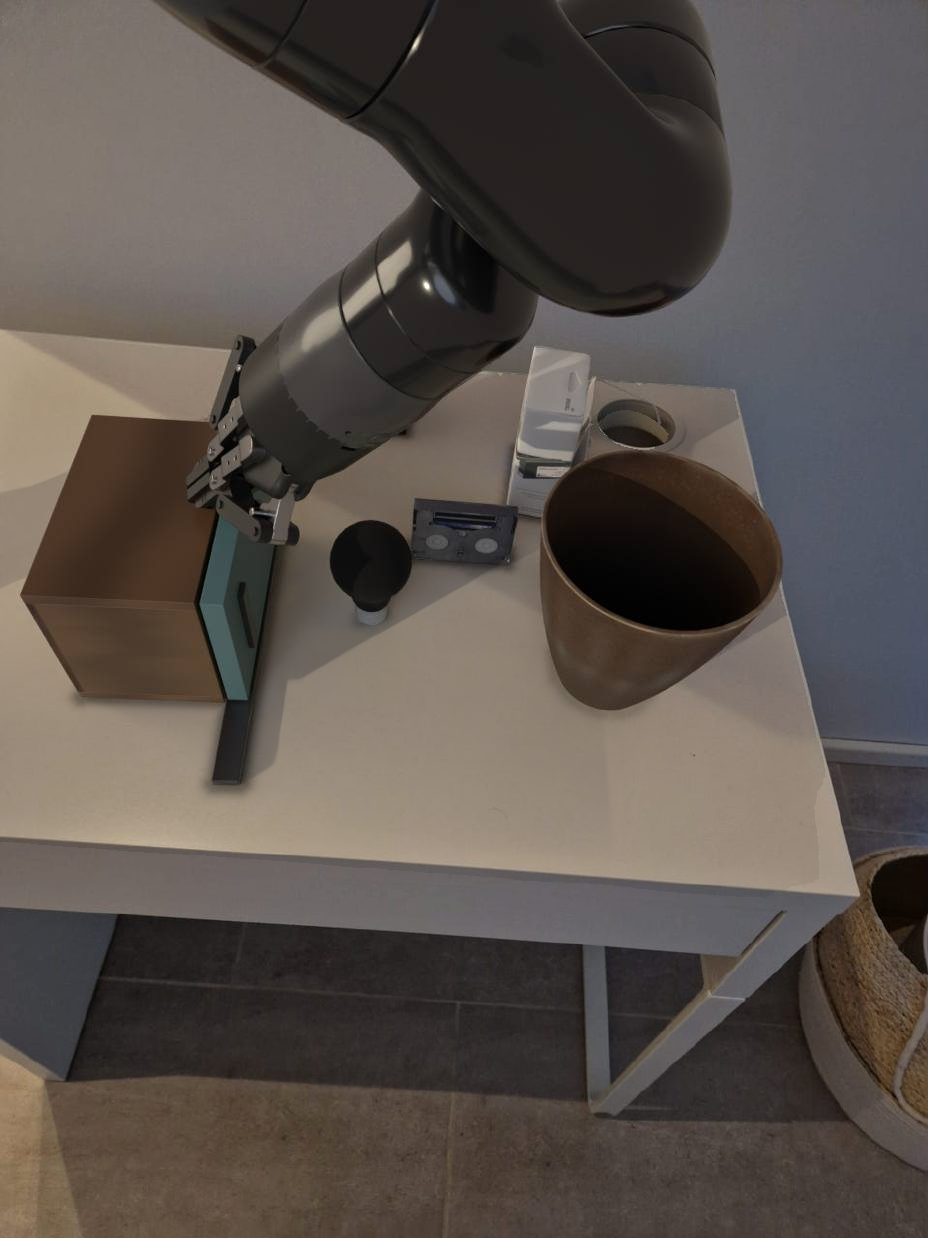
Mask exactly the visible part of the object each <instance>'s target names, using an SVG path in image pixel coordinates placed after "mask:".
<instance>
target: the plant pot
mask: <svg viewBox="0 0 928 1238" xmlns="http://www.w3.org/2000/svg"><path fill="white" fill-rule="evenodd" d="M540 522H541V523H540V540H539V542H540V544H539V585H540V601H541V610H542V611H541V612H542V618H543V624H544V625H543V626H544V630H545V635H546V641H547V645H548V648H549V652H550V655H551V658H552V661H553V665H554V668H555V671H556V673H557V676H558V678H559V680H560V682H561V684H562V686H563V688H564V689H565V691H567V692H568V694H570V696H572V697H573V699H576V701H578V702H579V703H582V704H584V705H586V706H588V707H590V708H593V709H595V710H596V709H597V710H601V711H620V710H624V709H627V708H630V707H632V706H636V705H638V704H640V703H642V702H643V703H644V702H646V701H647V700H649V699H651V698H654V697H655V696H657V695H659V694H661V693H663V692H665V691H666V690H668V689H670V688H672V687H673V686H675V685H676V684H679V683H680V682H681V681H683V680H684V679H686V678H687V677H689V676H691V675H692V674H693V673H695V672H696V671H698V670H699V669H700V668H702V667H703V666H704V665H705V664H707V663H708V662H709V661H710V660H712V659H713V658H714V657H716V656H717V655H718V654H719V653H720V652H721V651H722V650H724V649H725V648H726V647H727V646H729V644H731V642H732V641H734V640H735V639H736V638H737V637H738V636H739V635H740V634H741V633H742V632H743V631H744V630H745V629H747V627H748V626H749V625H750V624H751V623H752V622H753V621H754V620H755V619H756V618H757V617H758V616H759V615H760V614H761V613H762V612H763V611H764V610H765V609H766V608H767V607H768V605H769V604H770V603H771V602H772V600H773V598H774V597H775V595H776V594H777V592H778V589H779V587H780V585H781V581H782V577H783V572H784V571H783V569H784V557H783V549H782V545H781V544H782V543H781V541H780V538H779V535H778V533H777V530H776V528H775V526H774V524H773V522H772V521H771V518H770V517H769V515H768V514H767V513H766V512H765V510H764V509H763V507H762V506H761V505H760V504H759V502H758V501H757V500H756V499H755V498H754V497H752V495H750V493H748V491H746V490H745V489H744V488H743V487H742V486H740V485H739V484H738V483H736V482H735V481H734V480H732V479H731V478H730V477H728V476H726V475H725V474H723V473H721V472H720V471H718V470H716V469H714V468H712V467H710V466H708V465H706V464H704V463H701V462H699V461H697V460H694V459H691V458H688V457H685V456H681V455H677V454H673V453H669V452H664V451H658V450H646V449H626V450H624V449H623V450H617V451H611V452H606V453H602V454H598V455H595V456H593V457H590V458H588V459H587V458H586V460H585V461H583V462H581V463H579V464H577V465H576V466H574V467H572V468H571V469H570V470H568V471H567V472H566V473H565V474H564V475H562V476H561V477H560V478H559V480H558V481H557V482H556V483H555V484H554V486H553V487H552V489H551V490H550V492H549V494H548V496H547V498H546V500H545V504H544V507H543V512H542V518H541V521H540Z"/></svg>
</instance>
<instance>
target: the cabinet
mask: <svg viewBox="0 0 928 1238" xmlns="http://www.w3.org/2000/svg"><path fill="white" fill-rule="evenodd" d="M215 437H216V430H213V429H211V428H210V425H209V421H199V420H183V419H182V420H181V419H170V418H169V419H167V418H152V417H151V418H150V417H136V416H118V415H105V414H91V415H90V418H89V421H88V423H87V425H86V428H85V430H84V433H83V436H82V438H81V441H80V443H79V446H78V448H77V451H76V452H75V456H74V458H73V461H72V463H71V466H70V468H69V470H68V473H67V475H66V477H65V480H64V484H63V486H62V488H61V491H60V493H59V496H58V498H57V501H56V503H55V506H54V508H53V511H52V513H51V516H50V518H49V521H48V523H47V526H46V528H45V531H44V533H43V536H42V538H41V541H40V543H39V546H38V549H37V551H36V553H35V556H34V559H33V561H32V564H31V566H30V568H29V571H28V573H27V576H26V578H25V581H24V584H23V586H22V588H21V591H20V593H19V597H20V598H21V600H22V602H23V603H24V605H25V606H26V608H27V610H28V612H29V613H30V615H31V617H32V618H33V620H34V622H35V623H36V625H37V627H38V629H39V630H40V632H41V633H42V635H43V637H44V638H45V640H46V642H47V643H48V645H49V646H50V648H51V650H52V652H53V653H54V655H55V657H56V659H57V660H58V662H59V663H60V665H61V667H62V668H63V670H64V672H65V673H66V675H67V677H68V678H69V680H70V681H71V683H72V685H73V687H74V688H75V690H76V692H77V693H78V695H79V697H80V698H82V699H83V698H84V699H108V700H109V699H110V700H111V699H114V700H115V699H116V700H136V701H137V700H140V701H169V702H170V701H171V702H193V703H195V702H197V703H221V704H223V703H225V706H224V709H223V710H224V711H223V716H222V721H221V727H220V732H219V737H218V742H217V748H216V752H215V759H214V764H213V769H212V774H211V779H210V780H211V785H213V786H234V787H235V786H237V787H238V786H240V785H241V781H242V780H241V779H242V774H243V768H244V763H245V757H246V750H247V743H248V738H249V733H250V726H251V720H252V715H253V714H252V713H253V708H254V702H255V695H256V690H257V683H258V679H259V672H260V666H261V660H262V653H263V649H264V643H265V642H264V641H265V635H266V631H267V623H268V618H269V612H270V611H269V610H270V605H271V599H272V593H273V587H274V580H275V577H276V576H275V575H276V570H277V569H276V568H277V563H278V556H279V550H280V545H275V546H274V551H273V557H272V563H271V569H270V575H269V581H268V587H267V592H266V598H265V604H264V610H263V616H262V622H261V628H260V633H259V639H258V645H257V651H256V657H255V663H254V669H253V674H252V680H251V686H250V692H249V698H248V700H231V699H228V697H227V693H226V690H225V687H224V683H223V680H222V677H221V673H220V670H219V667H218V663H217V660H216V657H215V653H214V650H213V647H212V643H211V640H210V637H209V633H208V630H207V627H206V623H205V620H204V617H203V613H202V610H201V607H200V600H201V596H202V592H203V587H204V583H205V579H206V574H207V570H208V566H209V561H210V557H211V553H212V548H213V544H214V540H215V535H216V531H217V527H218V522H219V518H220V515H219V514H218V513H217V510H212V509H204V508H196V505H195V504H194V503H189V502H188V498H187V490H188V489H187V486H186V476H188V475H189V474H190V473H191V472H192V471H193V468H194V466H195V464H196V463H197V462H198V461H200V459H201V458H203V457H204V456H205V455H206V454H207V448H208V445H209V443H210V442H211V441H212V440H213V439H214V438H215Z"/></svg>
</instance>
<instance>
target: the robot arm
mask: <svg viewBox="0 0 928 1238" xmlns="http://www.w3.org/2000/svg"><path fill="white" fill-rule="evenodd" d="M149 1H150V2H151V3H153V4H154V5H155V6H157V7H158V8H159V9H160V10H162V11H163V12H164V13H166V14H167V15H169V17H171V18H173V19H174V20H175V21H176V22H177V23H179V24H180V25H182V26H184V27H185V28H187V29H188V30H190V31H191V32H192V33H193V34H195V35H197V36H198V37H200V38H201V39H203V40H204V41H206V42H207V43H208V44H210V45H211V46H213V47H215V48H217V49H218V50H219V51H222V52H223V53H225V54H227V55H228V56H230V57H231V58H234V59H235V60H236V61H238V62H240V63H241V64H243V65H245V66H246V67H248V68H250V69H251V70H252V71H254V72H256V73H258V74H259V75H261V76H262V77H264V78H266V79H268V80H269V81H271V82H273V83H274V84H276V85H278V86H279V87H281V88H283V89H285V90H286V91H287V92H289V93H291V94H293V95H295V96H296V97H298V98H299V99H301V100H303V101H305V102H306V103H308V104H309V105H311V106H313V107H314V108H316V109H317V110H320V111H321V112H323V113H324V114H326V115H327V116H329V117H330V118H333V119H337V121H339V122H340V123H341V124H343V125H345V126H347V127H348V128H350V129H353V130H354V131H357V132H358V133H360V134H362V135H364V136H366V137H368V138H370V139H372V140H373V141H374V142H376V143H377V144H378V145H379V146H381V147H382V148H383V149H384V150H385V151H386V152H387V153H388V154H389V155H390V156H391V157H392V158H393V159H394V160H395V161H396V162H397V163H398V165H400V167H402V169H403V170H405V172H406V173H407V174H408V175H409V177H410V178H411V180H413V181H414V182H415V183H416V185H417V186H419V189H418V191H417V193H416V194H415V196H414V198H413V199H412V200H411V202H410V204H409V205H408V206H407V207H406V208H405V209H404V210H403V211H402V212H401V213H400V214H398V215H397V216H396V217H395V218H394V219H393V220H392V221H391V222H390V223H389V224H388V225H387V226H386V227H384V229H383V230H382V231H380V233H379V234H378V235H377V236H375V238H374V239H373V240H372V241H371V242H370V243H369V244H368V245H367V246H365V248H364V249H362V251H361V252H360V253H359V254H358V255H357V256H356V257H355V258H353V260H352V261H350V262H349V263H348V264H347V265H345V266H344V267H343V268H342V269H340V270H338V271H337V272H335V273H334V274H332V275H331V276H329V277H328V278H327V279H325V280H324V281H322V282H321V283H320V284H319V285H318V286H317V287H316V288H314V290H313V291H312V292H311V293H309V294H308V295H307V296H306V298H305V299H303V300H302V302H300V303H299V305H298V306H296V308H295V309H294V310H292V312H290V313H289V315H287V316H286V318H284V320H283V321H282V322H280V324H279V325H278V326H277V327H276V328H275V329H274V330H273V331H272V332H270V334H269V335H268V336H267V337H266V338H265V339H264V340H261V339H256V338H253V337H250V336H247V335H242V334H238V335H236V337H235V338H234V342H233V345H232V347H231V351H230V354H229V357H228V360H227V363H226V366H225V369H224V372H223V374H222V378H221V381H220V385H219V386H218V390H217V393H216V396H215V399H214V401H213V405H212V408H211V411H210V415H209V419H208V422H209V425H210V428H211V429H213V430H216V437H215V438H214V439H213V440H212V441H211V442H210V443H209V445H208V448H207V454H206V455H205V456H204V457H203V458H201V459H200V461H198V462H197V463H196V464H195V466H194V468H193V471H192V472H191V473H190V474H189V475H188V476H186V486H187V489H188V490H187V498H188V502H189V503H194V504H195V505H196V508H204V509H212V510H217V513H218V514H219V515H220V516H221V517H223V518H224V519H225V520H226V521H228V522H229V523H230V524H231V525H233V526H234V527H235V528H236V529H238V530H239V531H240V532H241V533H243V534H244V535H245V536H246V537H248V538H249V539H250V540H251V541H253V542H256V543H266V544H275V545H279V546H290V547H296V546H297V545H298V543H299V541H300V537H301V532H300V528H299V526H298V525H297V524H295V523H294V522H292V521H291V519H292V515H293V511H294V508H295V502H297V503H299V502H301V501H303V500H304V499H306V498H307V497H308V495H309V494H310V492H311V490H312V489H313V487H314V485H315V484H316V483H317V482H318V481H320V480H322V479H325V478H328V477H331V476H333V475H335V474H338V473H341V472H342V471H344V470H346V469H348V468H349V467H351V466H352V465H354V464H356V463H357V462H358V461H361V460H362V459H363V458H364V457H366V456H368V455H369V454H370V453H372V452H373V451H375V450H376V449H378V448H380V447H381V446H382V445H384V444H385V443H387V442H388V441H390V440H391V439H393V438H394V437H396V436H397V435H400V434H399V433H400V432H402V431H403V430H405V429H406V430H407V429H408V428H410V427H411V426H412V425H414V424H415V423H417V422H418V421H420V420H421V419H422V418H424V417H425V416H426V415H427V414H428V413H429V412H430V411H431V410H432V409H434V408H435V406H436V405H437V404H438V403H440V401H442V400H443V399H444V398H445V397H447V396H448V395H449V394H450V393H452V392H453V391H455V390H457V389H458V388H459V387H460V386H463V384H465V383H467V382H468V381H470V380H471V379H473V378H474V377H475V376H477V375H478V374H481V372H483V371H484V370H486V369H488V368H490V367H491V366H493V365H494V364H495V363H497V362H498V361H500V360H501V359H503V358H504V357H505V356H506V355H508V354H509V353H510V352H511V351H512V350H514V349H515V348H516V347H517V346H518V345H519V344H520V343H521V342H522V340H523V339H524V337H525V336H526V335H527V334H528V332H529V331H530V329H531V327H532V324H533V322H534V318H535V316H536V313H537V312H536V311H537V308H538V303H539V298H540V297H542V298H544V299H545V300H547V301H549V302H551V303H553V304H555V305H558V306H560V307H562V308H565V309H568V310H570V311H574V312H577V313H580V314H585V315H590V316H594V317H595V316H596V317H601V318H602V317H603V318H628V317H634V316H635V317H636V316H642V315H646V314H650V313H654V312H656V311H659V310H661V309H662V310H663V309H664V308H666V307H668V306H670V305H672V304H674V303H675V302H676V301H677V302H678V301H679V300H680V299H682V298H683V297H685V296H687V295H688V294H689V293H690V292H692V291H693V290H694V289H695V288H696V287H698V286H699V284H701V282H702V281H703V280H704V278H705V277H706V276H707V275H708V273H709V272H710V271H711V269H712V268H713V266H714V265H715V263H716V262H717V260H718V258H719V257H720V254H721V253H722V250H723V248H724V246H725V243H726V240H727V237H728V235H729V230H730V226H731V220H732V212H733V192H734V191H733V180H732V172H731V171H732V170H731V166H730V158H729V153H728V146H727V141H726V134H725V129H724V123H723V117H722V116H723V115H722V110H721V104H720V99H719V93H718V83H717V82H718V81H717V76H716V70H715V63H714V57H713V51H712V47H711V42H710V38H709V34H708V31H707V29H706V26H705V24H704V21H703V18H702V16H701V14H700V12H699V10H698V8H697V7H696V5H695V4H694V2H693V1H692V0H149ZM233 402H234V406H233V407H232V404H233ZM231 407H232V408H231ZM259 490H261V491H263V492H264V493H266V494H268V495H269V496H271V497H272V499H271V500H270V502H269V503H264V502H263V501H261V500H260V499H254V497H253V494H254V493H255V492H257V491H259Z"/></svg>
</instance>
